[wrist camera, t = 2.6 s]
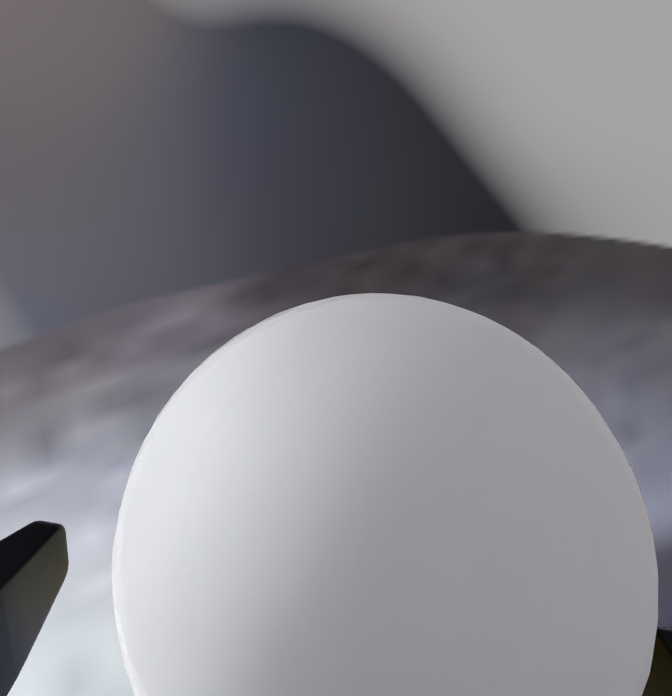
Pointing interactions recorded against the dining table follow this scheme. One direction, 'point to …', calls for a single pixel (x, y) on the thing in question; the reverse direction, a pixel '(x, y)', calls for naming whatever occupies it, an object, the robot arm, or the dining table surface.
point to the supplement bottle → (383, 518)
